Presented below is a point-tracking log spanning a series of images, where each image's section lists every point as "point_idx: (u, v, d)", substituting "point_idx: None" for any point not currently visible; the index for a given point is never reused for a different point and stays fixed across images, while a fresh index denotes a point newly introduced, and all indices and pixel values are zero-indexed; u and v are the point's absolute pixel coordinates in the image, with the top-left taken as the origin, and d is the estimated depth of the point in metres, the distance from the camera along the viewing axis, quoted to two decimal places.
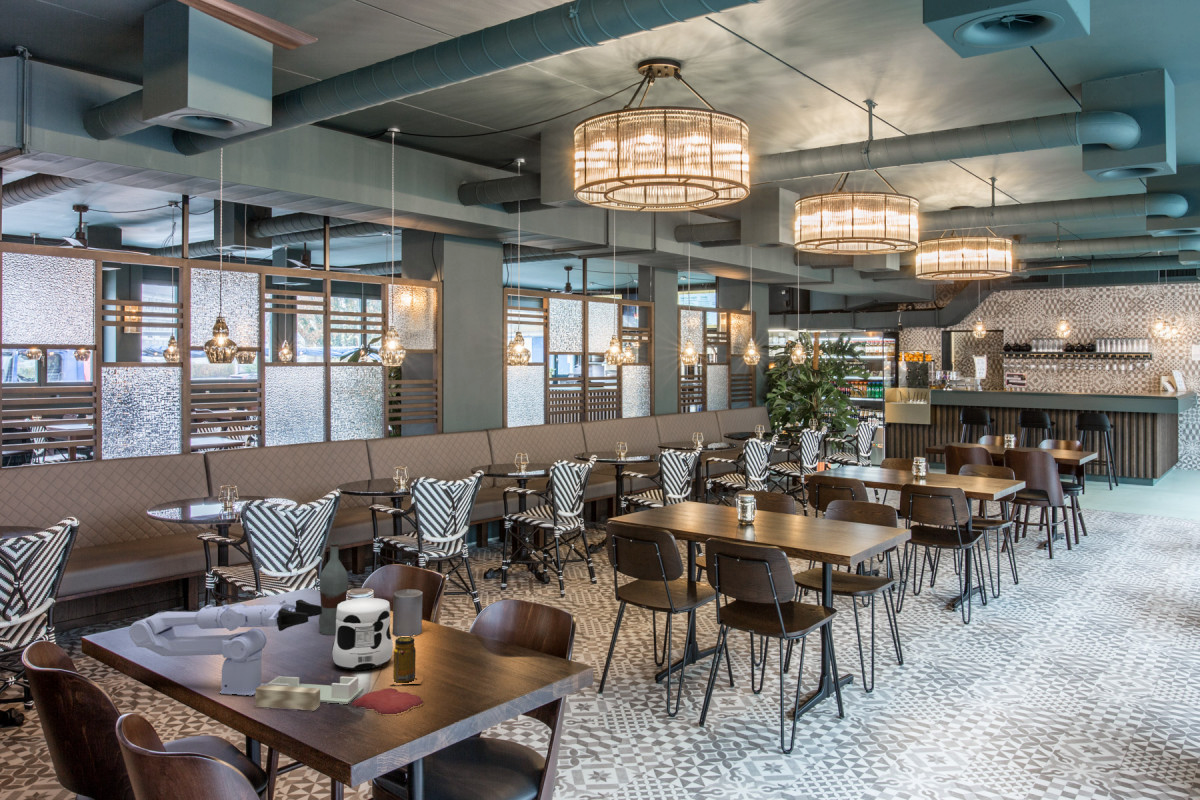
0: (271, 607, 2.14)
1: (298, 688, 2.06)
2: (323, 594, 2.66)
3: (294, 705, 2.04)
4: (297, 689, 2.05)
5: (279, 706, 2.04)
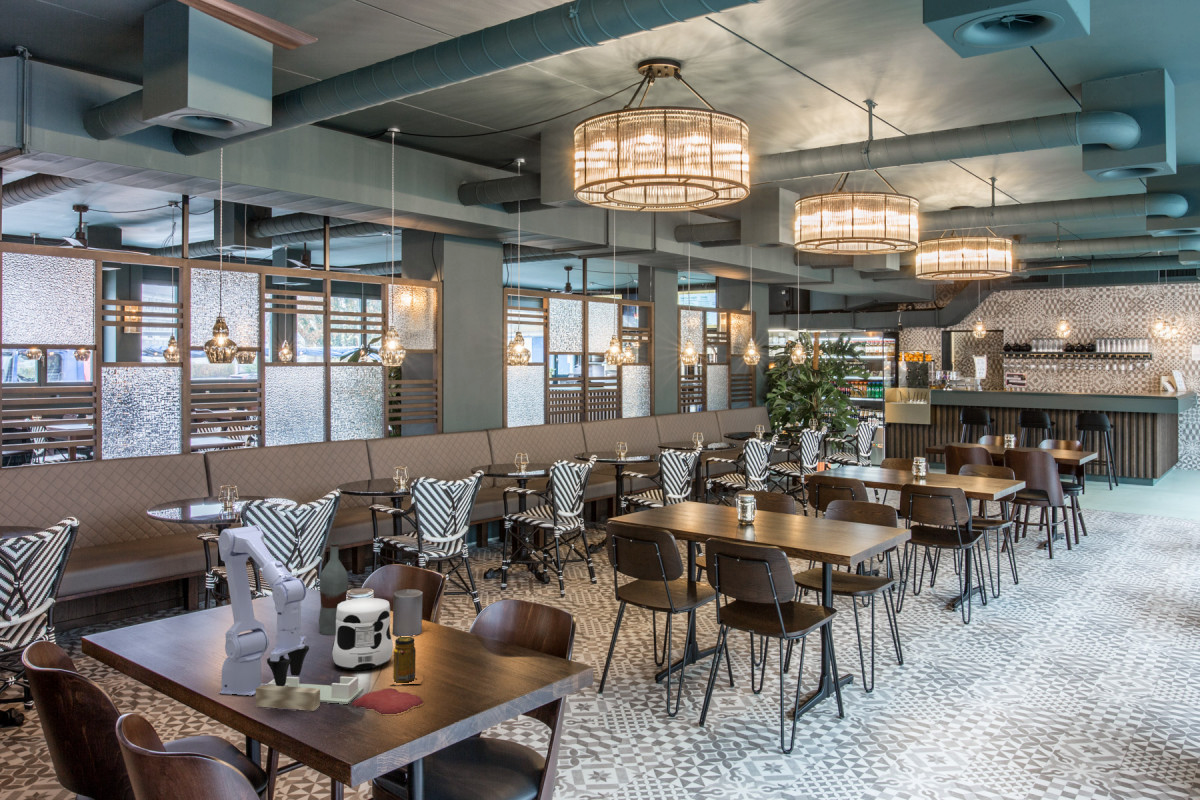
0: (295, 638, 2.04)
1: (298, 688, 2.06)
2: (323, 594, 2.66)
3: (294, 705, 2.04)
4: (297, 689, 2.05)
5: (279, 706, 2.04)
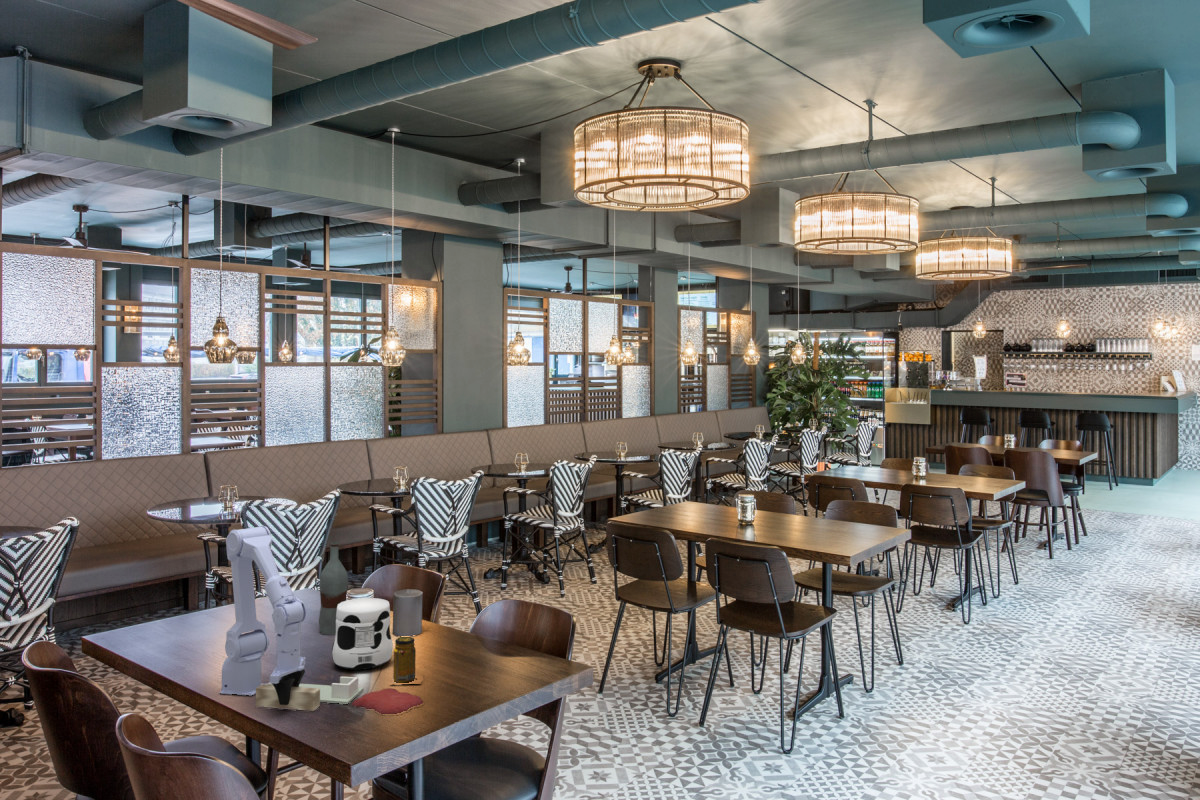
0: (295, 659, 2.04)
1: (298, 688, 2.06)
2: (323, 594, 2.66)
3: (294, 705, 2.04)
4: (297, 689, 2.05)
5: (279, 706, 2.04)
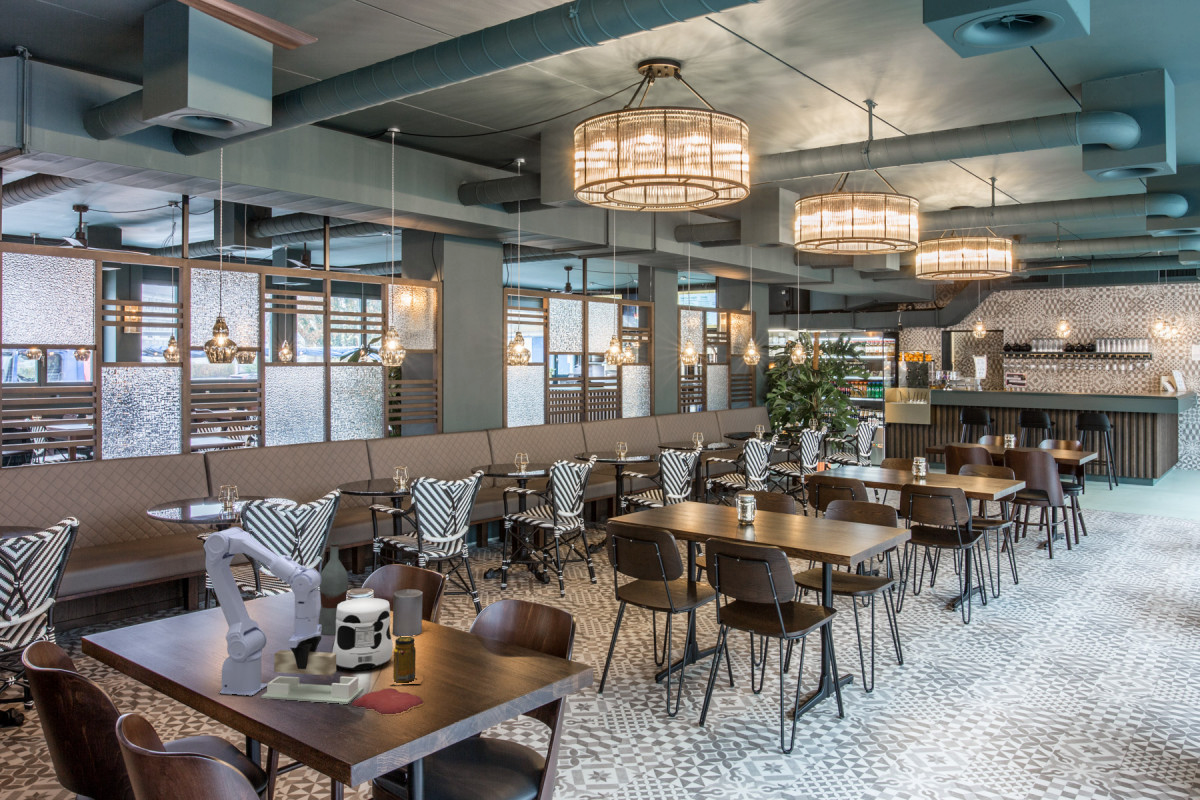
0: (312, 625, 2.13)
1: (315, 653, 2.15)
2: (323, 594, 2.66)
3: (312, 669, 2.12)
4: (314, 653, 2.14)
5: (297, 670, 2.13)
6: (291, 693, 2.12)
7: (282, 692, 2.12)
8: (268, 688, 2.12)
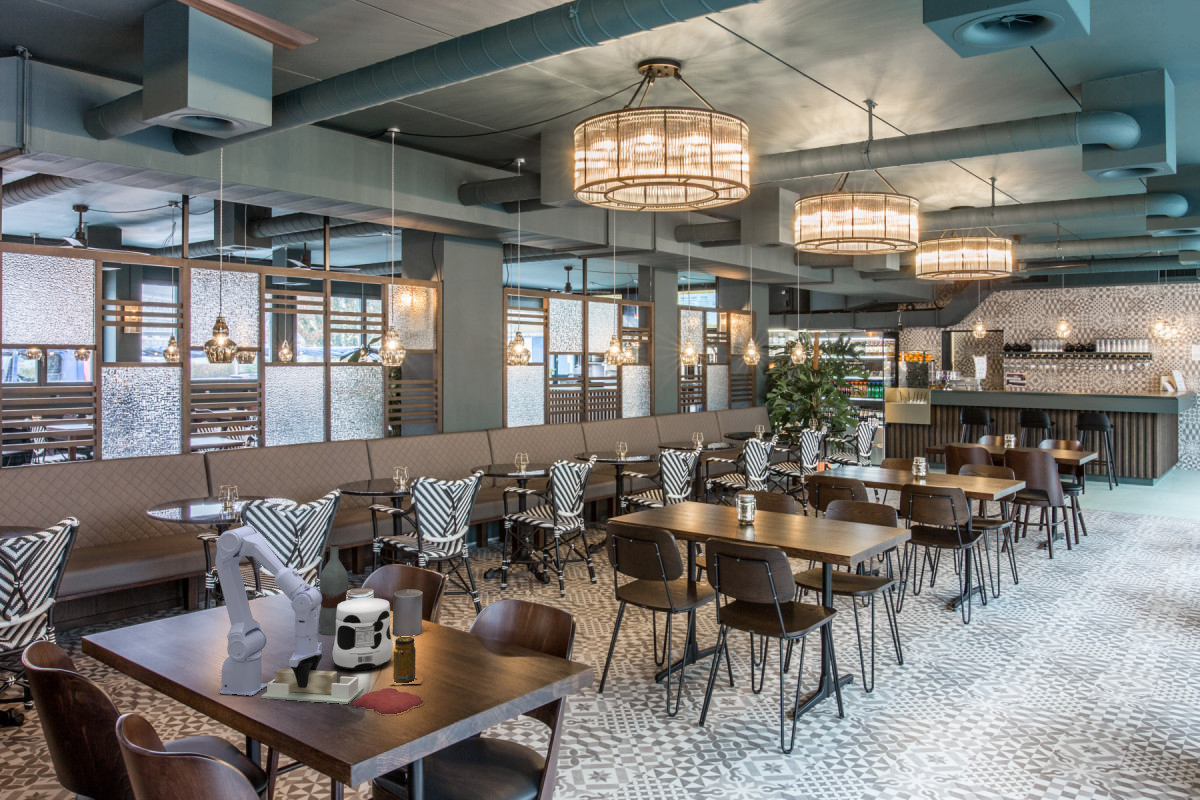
0: (312, 644, 2.13)
1: (316, 671, 2.15)
2: (323, 594, 2.66)
3: (312, 688, 2.12)
4: (315, 672, 2.14)
5: (298, 688, 2.13)
6: (291, 693, 2.12)
7: (282, 692, 2.12)
8: (268, 688, 2.12)
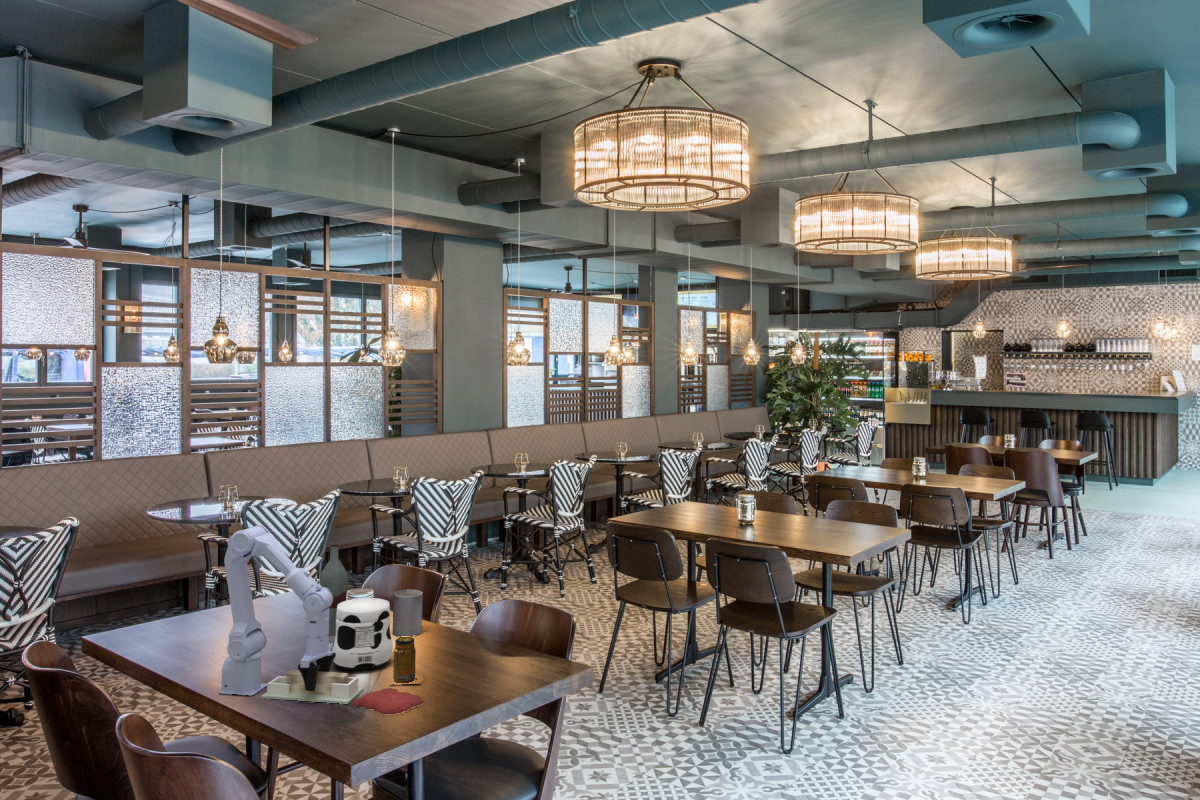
0: (324, 645, 2.12)
1: (327, 673, 2.14)
2: None
3: (323, 689, 2.12)
4: (326, 674, 2.14)
5: None
6: (291, 693, 2.12)
7: (282, 692, 2.12)
8: (268, 688, 2.12)
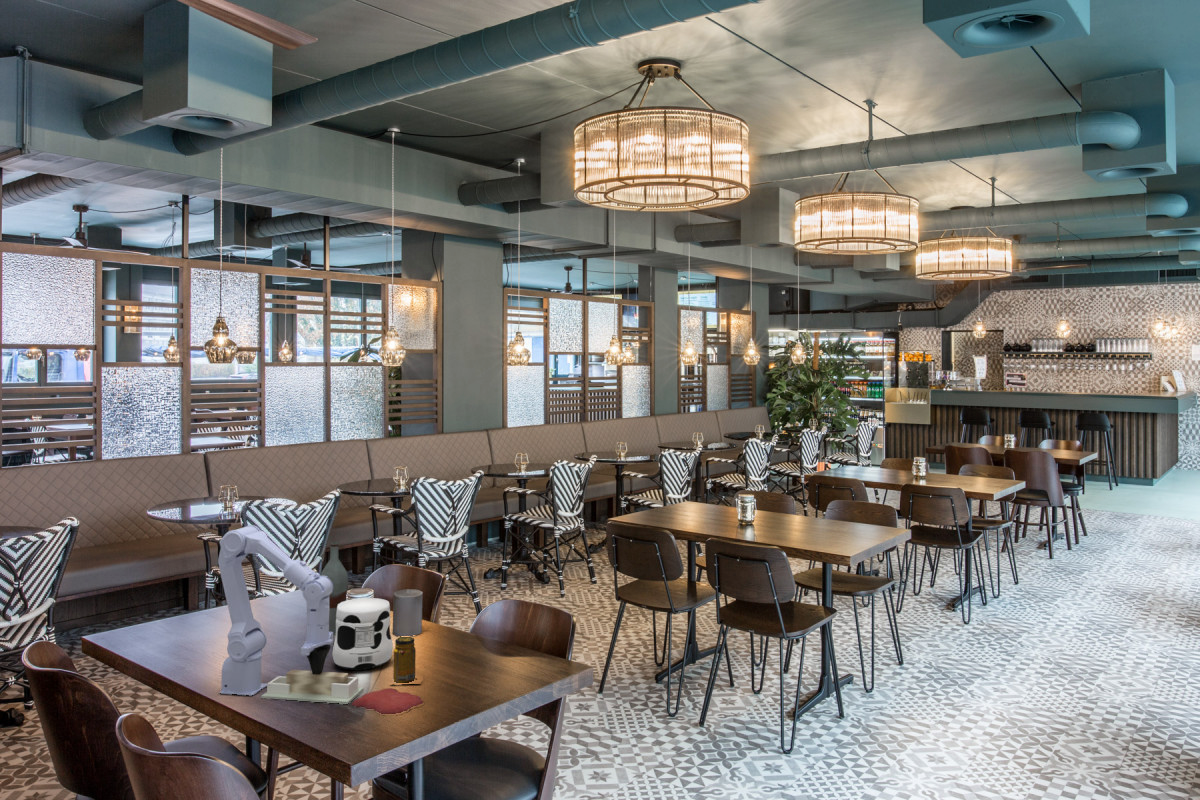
0: (324, 633, 2.12)
1: (327, 673, 2.14)
2: None
3: (323, 689, 2.12)
4: (326, 674, 2.14)
5: (309, 690, 2.13)
6: (291, 693, 2.12)
7: (282, 692, 2.12)
8: (268, 688, 2.12)
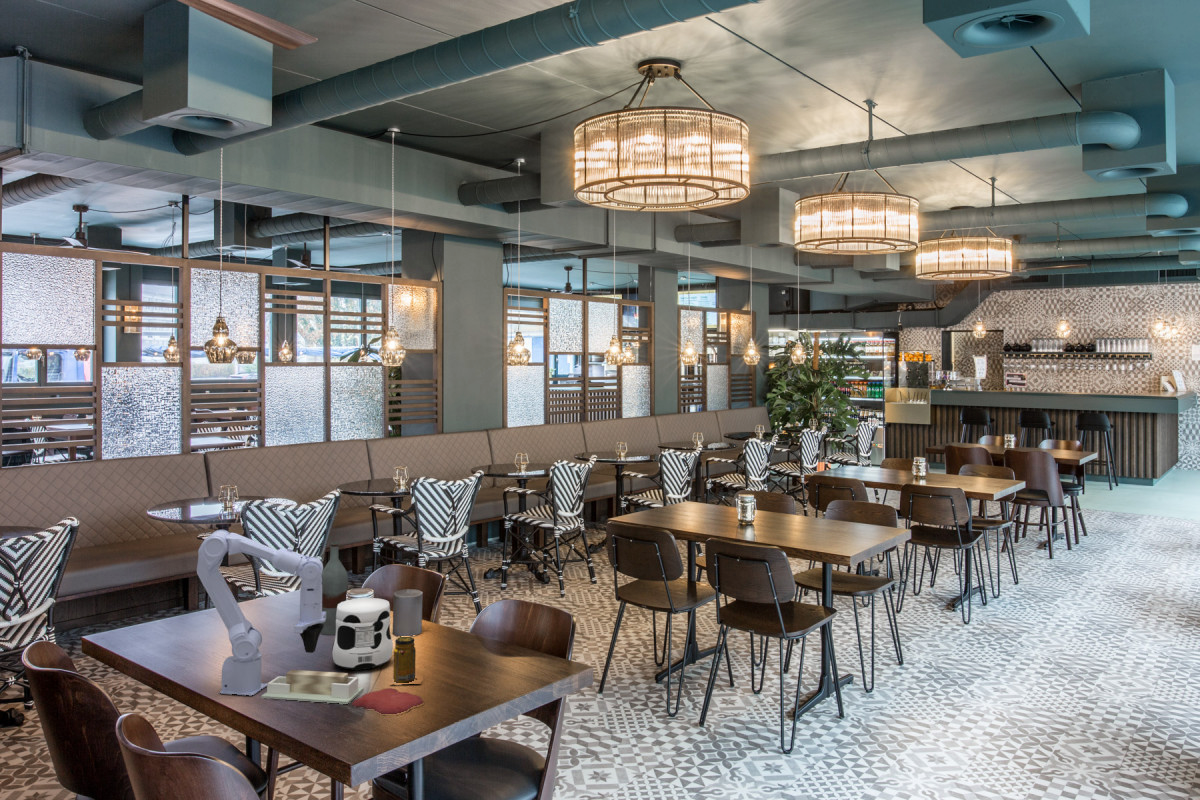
0: (317, 612, 2.19)
1: (327, 673, 2.14)
2: (323, 594, 2.66)
3: (323, 689, 2.12)
4: (326, 674, 2.14)
5: (309, 690, 2.13)
6: (291, 693, 2.12)
7: (282, 692, 2.12)
8: (268, 688, 2.12)
